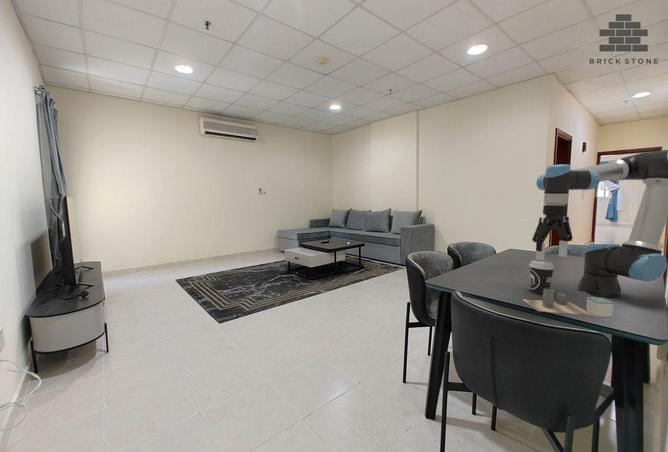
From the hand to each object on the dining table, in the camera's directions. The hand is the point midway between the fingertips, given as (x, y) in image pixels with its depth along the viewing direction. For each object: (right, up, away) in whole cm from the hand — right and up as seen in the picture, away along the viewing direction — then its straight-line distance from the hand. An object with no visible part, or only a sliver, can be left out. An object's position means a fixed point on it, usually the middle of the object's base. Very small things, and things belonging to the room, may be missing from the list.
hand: (551, 258), depth 116 cm
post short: (+5, -19, +1) cm, 19 cm away
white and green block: (+11, -21, -9) cm, 25 cm away
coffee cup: (+6, -19, +16) cm, 25 cm away
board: (0, -20, -2) cm, 20 cm away
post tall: (-3, -19, -2) cm, 19 cm away
